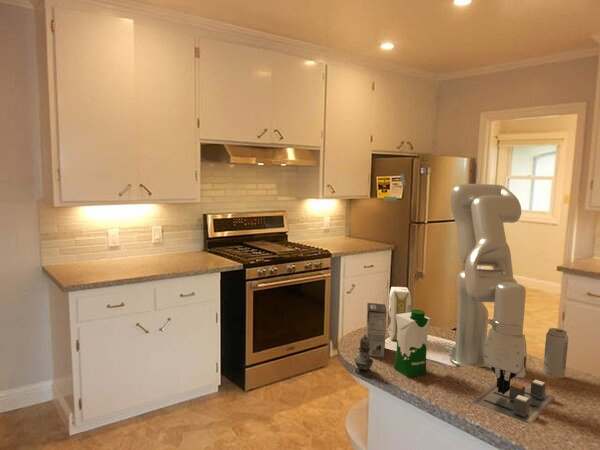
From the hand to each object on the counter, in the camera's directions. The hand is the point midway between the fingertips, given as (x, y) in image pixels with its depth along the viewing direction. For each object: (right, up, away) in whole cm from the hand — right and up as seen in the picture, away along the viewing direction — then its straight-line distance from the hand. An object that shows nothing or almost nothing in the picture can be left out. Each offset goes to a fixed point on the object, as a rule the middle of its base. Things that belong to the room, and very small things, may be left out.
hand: (502, 391), depth 126 cm
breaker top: (+10, -2, 0) cm, 10 cm away
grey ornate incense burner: (-36, 0, +16) cm, 40 cm away
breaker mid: (+3, -2, -2) cm, 4 cm away
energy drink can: (+23, -1, +16) cm, 28 cm away
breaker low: (+1, -2, -9) cm, 10 cm away
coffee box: (-30, +2, +33) cm, 45 cm away
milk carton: (-22, 0, +17) cm, 28 cm away
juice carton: (-19, +3, +47) cm, 51 cm away
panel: (+2, -3, -2) cm, 4 cm away
